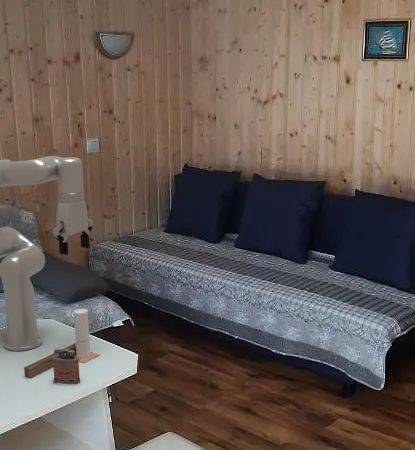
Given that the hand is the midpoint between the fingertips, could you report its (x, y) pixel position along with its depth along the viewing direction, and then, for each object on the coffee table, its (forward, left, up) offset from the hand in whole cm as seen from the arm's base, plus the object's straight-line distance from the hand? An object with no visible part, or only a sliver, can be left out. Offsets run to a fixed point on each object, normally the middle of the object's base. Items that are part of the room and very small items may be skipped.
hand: (74, 250), depth 214 cm
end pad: (+6, -4, -33) cm, 34 cm away
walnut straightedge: (+1, -12, -33) cm, 35 cm away
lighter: (+13, -20, -34) cm, 41 cm away
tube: (+5, -4, -33) cm, 34 cm away
